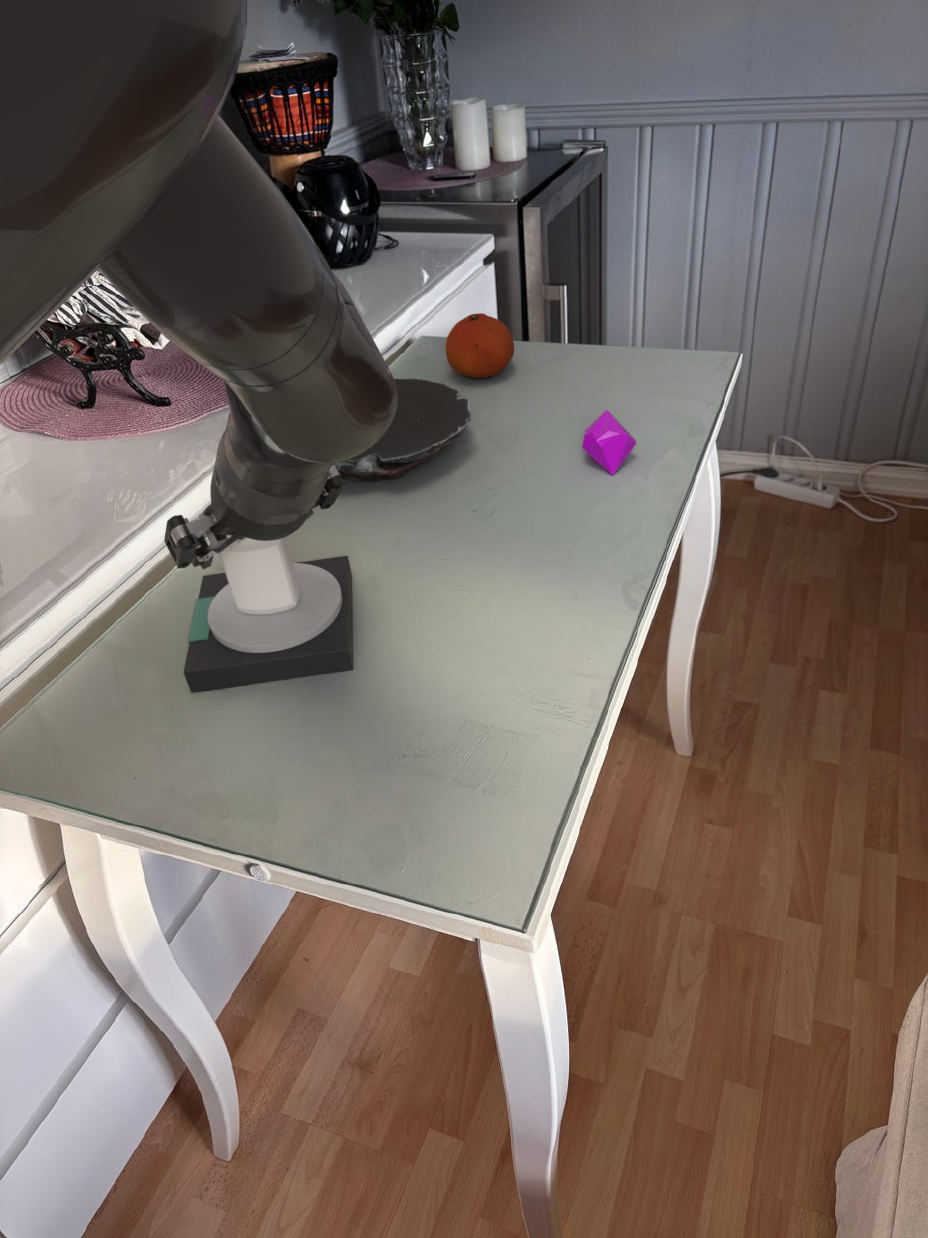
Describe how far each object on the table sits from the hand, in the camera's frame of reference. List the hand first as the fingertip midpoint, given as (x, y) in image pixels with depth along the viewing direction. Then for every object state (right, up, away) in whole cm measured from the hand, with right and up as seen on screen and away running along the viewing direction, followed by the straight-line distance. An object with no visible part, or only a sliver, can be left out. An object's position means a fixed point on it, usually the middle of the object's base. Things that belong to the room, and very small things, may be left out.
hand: (245, 539), depth 78 cm
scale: (+2, -8, +5) cm, 9 cm away
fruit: (+21, +26, +44) cm, 55 cm away
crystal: (+35, +11, +23) cm, 43 cm away
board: (+9, +13, +29) cm, 33 cm away
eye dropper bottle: (+1, -6, +3) cm, 7 cm away
